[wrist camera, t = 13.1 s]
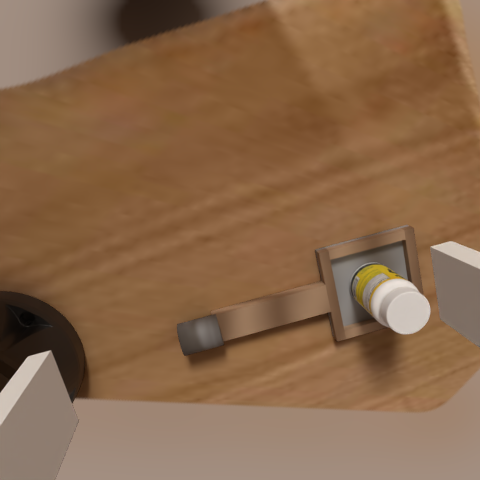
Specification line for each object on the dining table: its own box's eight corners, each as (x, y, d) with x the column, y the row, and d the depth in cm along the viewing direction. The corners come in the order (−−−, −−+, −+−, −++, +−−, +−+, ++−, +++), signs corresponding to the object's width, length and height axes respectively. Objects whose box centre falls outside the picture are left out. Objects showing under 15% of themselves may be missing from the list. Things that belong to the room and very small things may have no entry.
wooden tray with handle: (194, 374, 46) (194, 391, 43) (168, 289, 44) (166, 300, 41) (419, 311, 47) (435, 323, 44) (406, 225, 45) (422, 231, 42)
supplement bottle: (400, 285, 46) (445, 316, 38) (365, 312, 46) (402, 350, 38) (375, 252, 45) (416, 276, 37) (339, 280, 45) (372, 311, 37)
